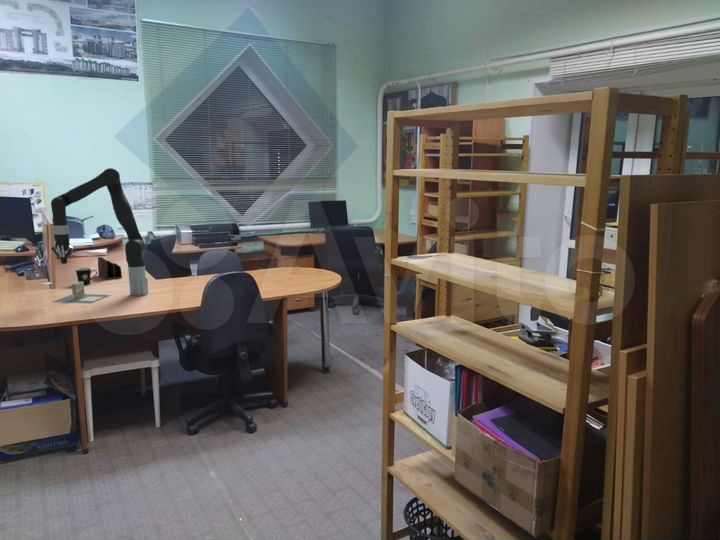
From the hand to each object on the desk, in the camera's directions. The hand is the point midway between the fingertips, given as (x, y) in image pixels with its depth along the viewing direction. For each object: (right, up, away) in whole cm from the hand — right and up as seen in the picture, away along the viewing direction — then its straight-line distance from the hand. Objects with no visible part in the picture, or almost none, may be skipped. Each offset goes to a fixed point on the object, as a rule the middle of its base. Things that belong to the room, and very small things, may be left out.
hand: (64, 263), depth 304 cm
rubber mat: (+9, -21, +3) cm, 23 cm away
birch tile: (+7, -20, +3) cm, 21 cm away
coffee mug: (-10, -13, +45) cm, 48 cm away
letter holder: (-6, -9, +69) cm, 70 cm away
